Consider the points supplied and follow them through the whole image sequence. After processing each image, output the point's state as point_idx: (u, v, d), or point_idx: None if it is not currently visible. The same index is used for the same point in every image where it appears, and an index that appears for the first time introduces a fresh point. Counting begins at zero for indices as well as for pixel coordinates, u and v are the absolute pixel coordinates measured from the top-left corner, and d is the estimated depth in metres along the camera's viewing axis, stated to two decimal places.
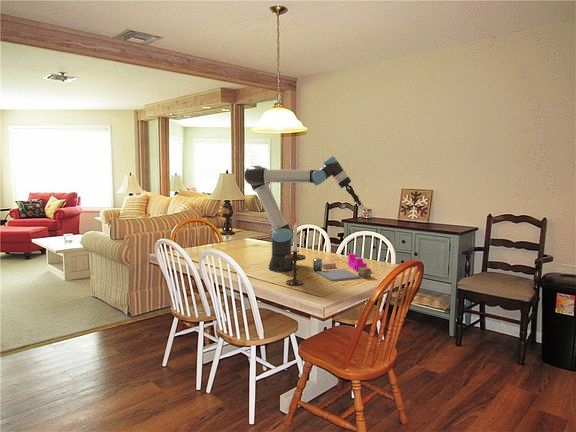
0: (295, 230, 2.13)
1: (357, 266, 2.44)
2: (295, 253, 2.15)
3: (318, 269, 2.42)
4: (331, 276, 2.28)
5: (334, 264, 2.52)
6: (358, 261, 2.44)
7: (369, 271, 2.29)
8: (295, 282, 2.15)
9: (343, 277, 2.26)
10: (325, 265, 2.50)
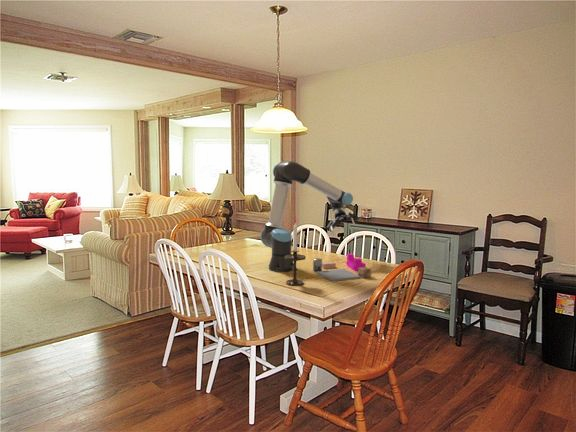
0: (295, 230, 2.13)
1: (356, 266, 2.44)
2: (295, 253, 2.15)
3: (318, 269, 2.42)
4: (331, 276, 2.28)
5: (334, 264, 2.52)
6: (357, 261, 2.43)
7: (369, 271, 2.29)
8: (295, 282, 2.15)
9: (343, 277, 2.26)
10: (325, 265, 2.50)
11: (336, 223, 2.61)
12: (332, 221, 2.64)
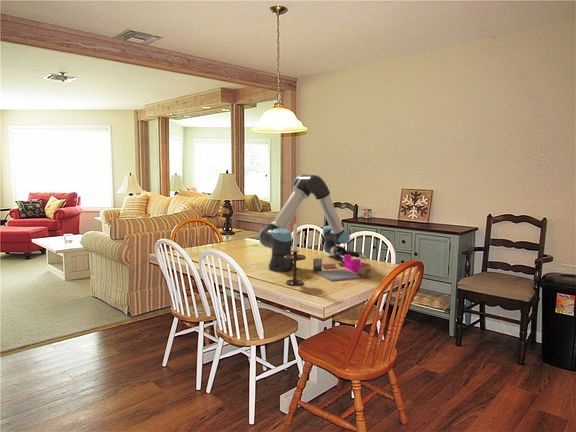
0: (295, 230, 2.13)
1: (355, 267, 2.41)
2: (295, 253, 2.15)
3: (318, 269, 2.42)
4: (331, 276, 2.28)
5: (334, 264, 2.52)
6: (356, 262, 2.41)
7: (369, 271, 2.29)
8: (295, 282, 2.15)
9: (343, 277, 2.26)
10: (324, 265, 2.50)
11: None
12: (336, 253, 2.67)
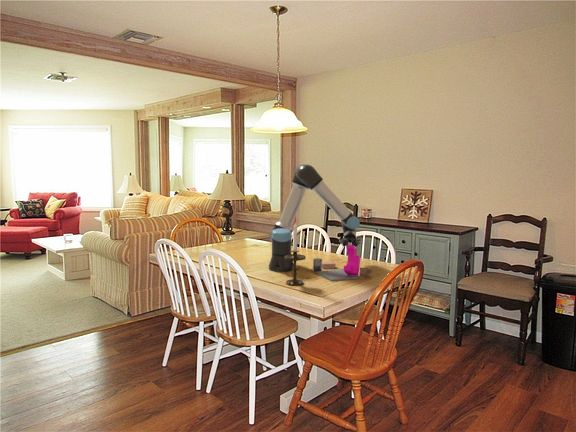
0: (295, 230, 2.13)
1: (346, 273, 2.29)
2: (295, 253, 2.15)
3: (318, 269, 2.42)
4: (331, 276, 2.28)
5: (333, 264, 2.51)
6: (346, 271, 2.26)
7: (370, 271, 2.29)
8: (295, 282, 2.15)
9: (343, 277, 2.26)
10: (323, 265, 2.51)
11: (348, 242, 2.45)
12: None
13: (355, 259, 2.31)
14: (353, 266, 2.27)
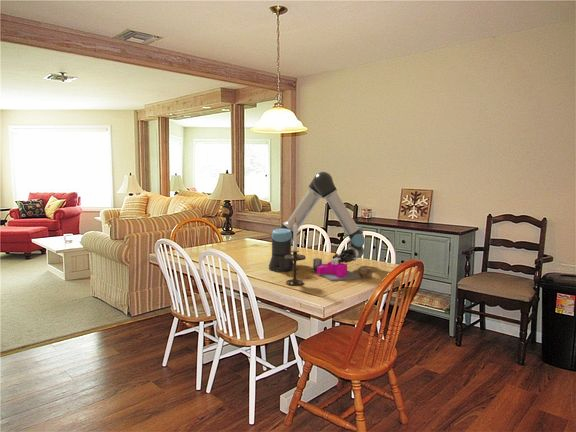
0: (295, 230, 2.13)
1: (344, 275, 2.29)
2: (295, 253, 2.15)
3: None
4: (331, 276, 2.28)
5: None
6: (342, 275, 2.26)
7: (370, 271, 2.29)
8: (295, 282, 2.15)
9: (343, 277, 2.26)
10: None
11: None
12: (337, 254, 2.43)
13: (331, 266, 2.33)
14: (337, 268, 2.29)
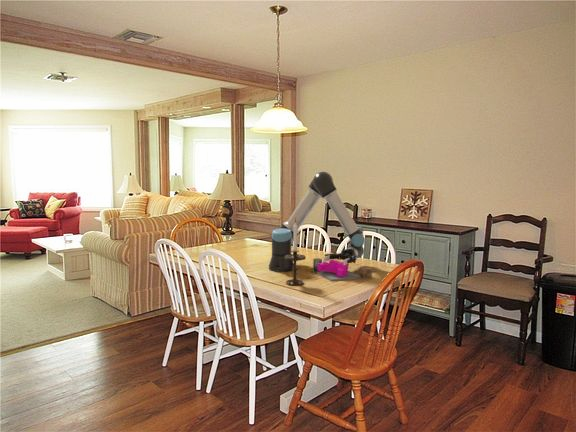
0: (295, 230, 2.13)
1: (344, 274, 2.29)
2: (295, 253, 2.15)
3: None
4: (331, 276, 2.28)
5: None
6: (342, 274, 2.26)
7: (370, 271, 2.29)
8: (295, 282, 2.15)
9: (343, 277, 2.26)
10: None
11: (337, 257, 2.41)
12: (336, 254, 2.45)
13: (332, 264, 2.33)
14: (338, 267, 2.29)
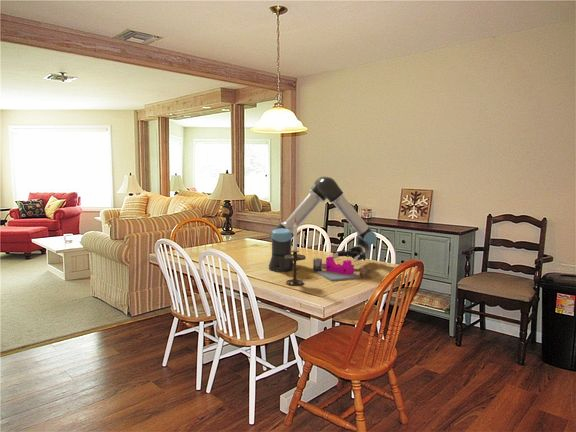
0: (295, 230, 2.13)
1: (347, 269, 2.31)
2: (295, 253, 2.15)
3: (318, 269, 2.42)
4: (331, 276, 2.28)
5: None
6: (348, 264, 2.31)
7: (370, 271, 2.29)
8: (295, 282, 2.15)
9: (343, 277, 2.26)
10: (323, 265, 2.51)
11: (345, 254, 2.50)
12: (344, 251, 2.54)
13: (339, 265, 2.40)
14: None
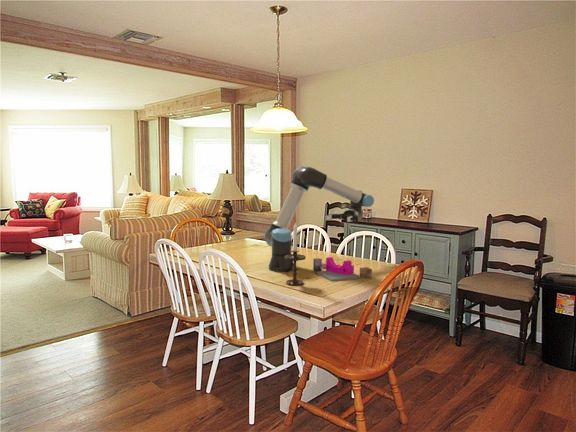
0: (295, 230, 2.13)
1: (347, 269, 2.31)
2: (295, 253, 2.15)
3: (318, 269, 2.42)
4: (331, 276, 2.28)
5: None
6: (348, 264, 2.31)
7: (370, 271, 2.29)
8: (295, 282, 2.15)
9: (343, 277, 2.26)
10: (322, 264, 2.51)
11: (338, 216, 2.59)
12: (337, 214, 2.63)
13: (339, 266, 2.39)
14: None
